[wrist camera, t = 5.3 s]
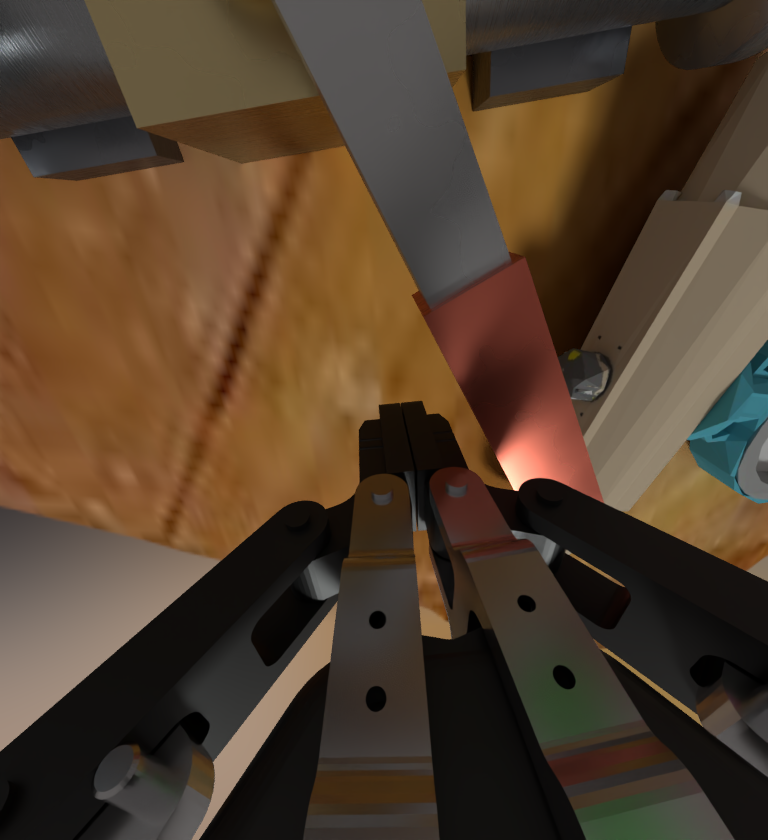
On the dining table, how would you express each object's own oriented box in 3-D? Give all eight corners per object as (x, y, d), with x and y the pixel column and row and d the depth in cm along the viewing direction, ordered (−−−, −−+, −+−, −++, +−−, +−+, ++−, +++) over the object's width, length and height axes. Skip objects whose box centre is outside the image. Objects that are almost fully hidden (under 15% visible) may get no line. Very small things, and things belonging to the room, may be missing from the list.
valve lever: (-45, -410, 4) (-334, -844, 2) (201, -854, 3) (14, -2088, 1) (489, 496, 13) (509, 540, 11) (595, 450, 12) (634, 491, 10)
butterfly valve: (1041, 195, 21) (658, 19, 13) (1317, 196, 15) (914, -111, 8) (725, 505, 34) (454, 502, 27) (805, 566, 29) (490, 583, 22)
